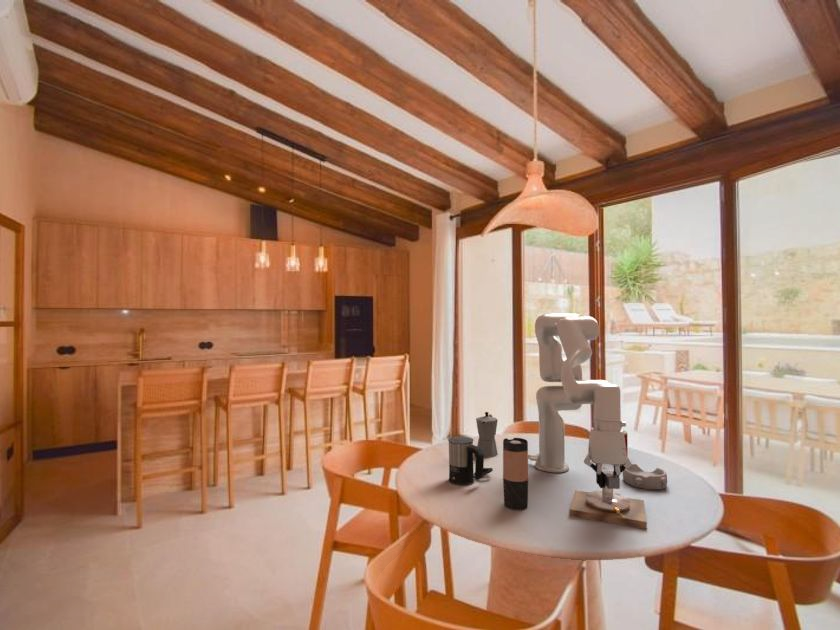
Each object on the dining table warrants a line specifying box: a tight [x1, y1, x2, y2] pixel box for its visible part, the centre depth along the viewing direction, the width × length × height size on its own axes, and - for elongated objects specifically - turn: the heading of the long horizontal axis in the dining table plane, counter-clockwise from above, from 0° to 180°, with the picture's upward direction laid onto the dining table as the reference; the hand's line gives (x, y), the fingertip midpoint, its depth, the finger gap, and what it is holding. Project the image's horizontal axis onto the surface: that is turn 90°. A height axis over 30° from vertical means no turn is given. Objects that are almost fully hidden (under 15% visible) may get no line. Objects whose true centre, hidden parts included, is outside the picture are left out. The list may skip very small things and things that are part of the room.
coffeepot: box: [475, 411, 498, 458], centre depth 192 cm, size 15×9×18 cm, turn 159°
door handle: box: [586, 465, 630, 513], centre depth 132 cm, size 14×12×10 cm
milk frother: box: [447, 436, 494, 486], centre depth 161 cm, size 14×16×15 cm
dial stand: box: [569, 489, 648, 530], centre depth 133 cm, size 20×16×2 cm
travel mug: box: [502, 437, 529, 511], centre depth 137 cm, size 8×8×20 cm
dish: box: [622, 463, 668, 490], centre depth 156 cm, size 14×14×5 cm
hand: (607, 486), depth 133 cm, fingers closed on door handle, 3 cm apart
